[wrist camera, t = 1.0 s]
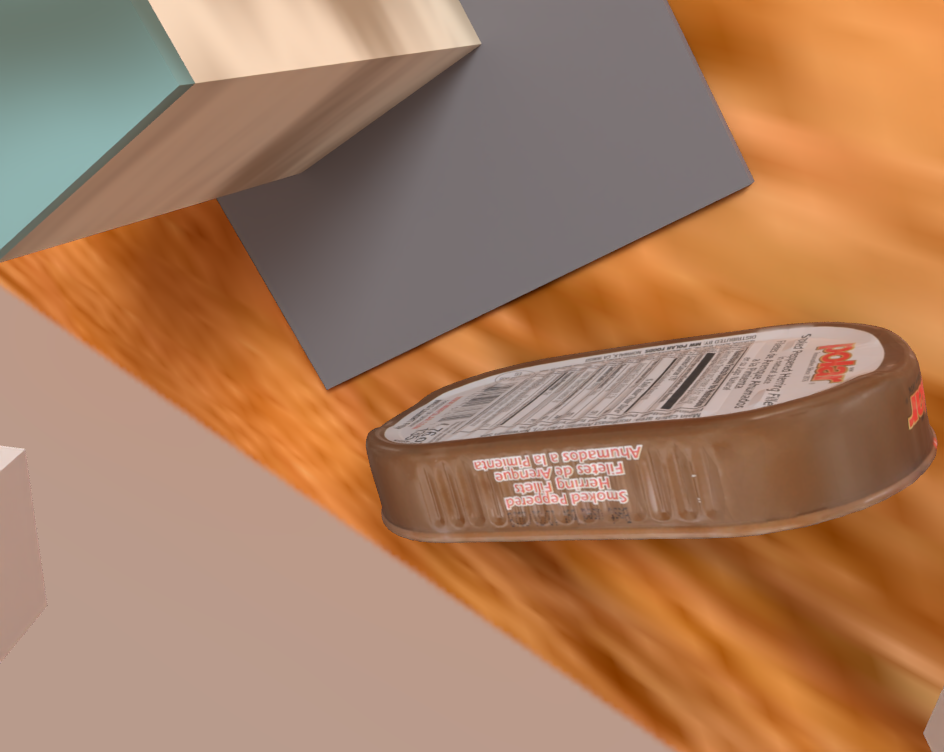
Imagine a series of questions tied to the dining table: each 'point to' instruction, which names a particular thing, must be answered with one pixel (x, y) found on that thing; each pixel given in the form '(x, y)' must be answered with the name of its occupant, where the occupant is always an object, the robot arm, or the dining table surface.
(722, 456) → the tin
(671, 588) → the dining table surface
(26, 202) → the block
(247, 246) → the mat
